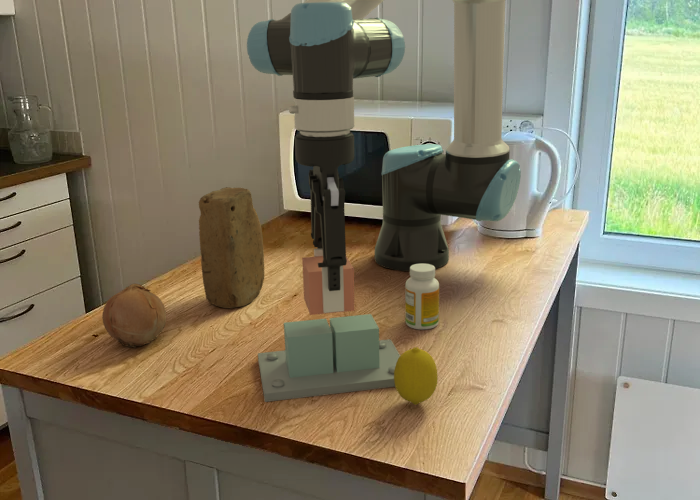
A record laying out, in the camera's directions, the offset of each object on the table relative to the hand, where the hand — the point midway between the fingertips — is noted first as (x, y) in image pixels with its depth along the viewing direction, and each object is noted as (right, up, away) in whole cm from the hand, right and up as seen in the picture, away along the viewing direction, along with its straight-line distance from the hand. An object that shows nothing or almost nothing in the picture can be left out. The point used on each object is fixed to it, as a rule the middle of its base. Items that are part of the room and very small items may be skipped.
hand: (329, 301), depth 97 cm
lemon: (+11, -13, -5) cm, 18 cm away
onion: (-30, -8, +15) cm, 35 cm away
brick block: (0, 0, 0) cm, 0 cm away
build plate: (0, -10, +4) cm, 11 cm away
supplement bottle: (+15, -5, +19) cm, 24 cm away
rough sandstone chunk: (-17, -2, +30) cm, 35 cm away
